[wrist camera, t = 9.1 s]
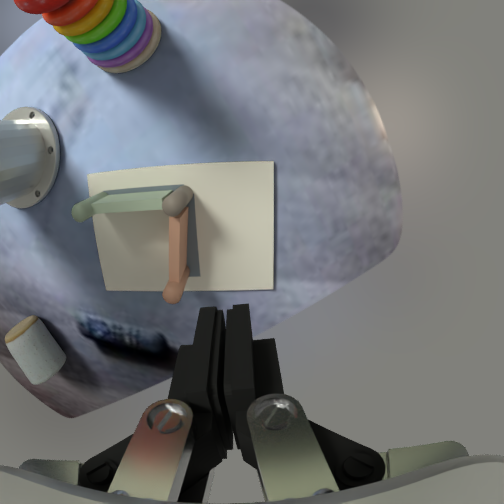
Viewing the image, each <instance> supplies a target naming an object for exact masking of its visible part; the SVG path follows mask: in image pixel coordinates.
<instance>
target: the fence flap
mask: <svg viewBox="0 0 504 504" xmlns="http://www.w3.org/2000/svg"><path fill="white" fill-rule="evenodd" d="M192 197H193V191H192V189H191V188H190V187H188V186H186V185H183V186H180V187H179V188H177V189H176V190H175V191H174V192H172V193H171V194H170V195H169V196H167V197H166V198H165V199H164V200H163V202H162V209H163V211H164V213H165V214H166V215H168V216H170V217H169V280H168V282H167V284H166V286H165V289H164V291H163V294H162V295H163V298H164V300H165V301H166V302H168V303H170V304H176V303H178V302H179V301H180V299H181V297H182V294H183V291H184V288H185V285H186V283H187V280H188V277H189V274H190V269H189V267H188V266H187V232H188V208H189V207H186V205H187V204H188V203H189V202H190V200H191V199H192Z"/></svg>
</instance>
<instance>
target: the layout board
mask: <svg viewBox="0 0 504 504" xmlns="http://www.w3.org/2000/svg"><path fill="white" fill-rule="evenodd" d="M87 178H88V188H89V196H90V197H92V196H94V195H96V194H98V193H101V192H106V193H107V194H108V195H114V194H125V193H137V192H150V191H164V190H173V192H174V191H175V190H176V189H177V188H179V187H180V186H183V185H186V186H188V187H190V188H191V189H192V191H193V197H192V199H191V200H190V202H189V203H188V204H187V205H186V207H189V208H188V232H187V266H188V267H189V269H190V274H189V277H188V280H187V283H186V285H185V288H184V291H225V290H265V289H273V256H274V161H245V162H215V163H196V164H180V165H167V166H155V167H144V168H134V169H125V170H116V171H108V172H100V173H92V174H88V175H87ZM169 217H170V216H168V215H166V214H165V213H164V211H163V209H162V210H145V211H130V212H115V213H102V214H95V215H93V216H92V218H93V225H94V231H95V237H96V243H97V248H98V254H99V259H100V264H101V269H102V273H103V278H104V282H105V287H106V291H164V289H165V286H166V284H167V282H168V280H169Z"/></svg>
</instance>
